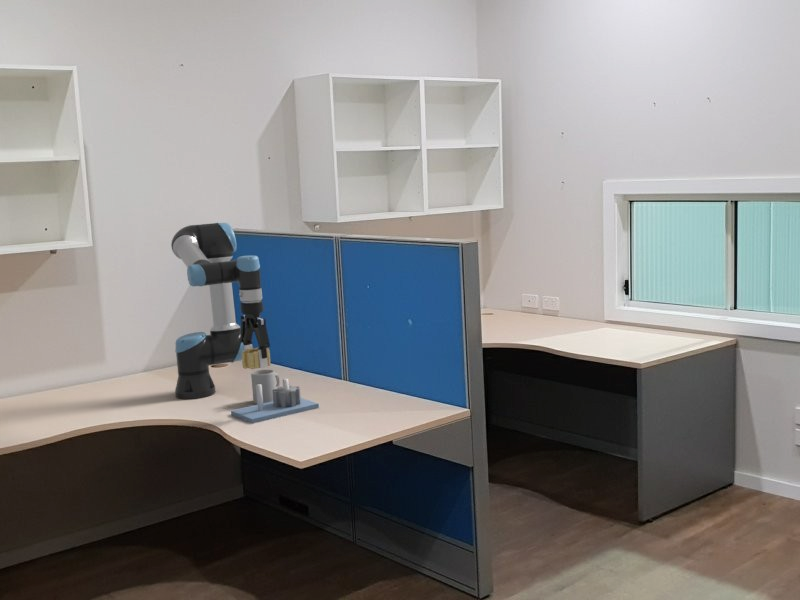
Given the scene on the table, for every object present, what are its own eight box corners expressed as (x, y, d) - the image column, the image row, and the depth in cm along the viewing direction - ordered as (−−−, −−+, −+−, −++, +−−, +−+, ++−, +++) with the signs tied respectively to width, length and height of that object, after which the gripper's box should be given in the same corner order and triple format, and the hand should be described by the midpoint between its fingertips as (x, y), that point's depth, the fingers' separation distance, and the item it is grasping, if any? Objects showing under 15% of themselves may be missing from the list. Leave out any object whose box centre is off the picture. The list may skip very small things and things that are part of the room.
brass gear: (237, 366, 321) (236, 350, 320) (262, 361, 327) (261, 346, 326) (250, 370, 313) (249, 354, 313) (275, 365, 319) (274, 349, 318)
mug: (264, 405, 335) (262, 375, 333) (248, 402, 340) (246, 373, 338) (288, 397, 344) (286, 368, 342) (272, 395, 349) (269, 366, 348)
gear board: (231, 414, 325) (228, 385, 323) (296, 400, 340) (293, 371, 338) (252, 423, 312) (249, 392, 310) (318, 407, 327) (316, 378, 325)
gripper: (226, 300, 323) (232, 362, 327) (256, 305, 306) (262, 372, 309) (246, 297, 328) (251, 359, 331) (276, 302, 310) (282, 368, 313)
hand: (256, 365), depth 320 cm, fingers closed on brass gear, 10 cm apart
